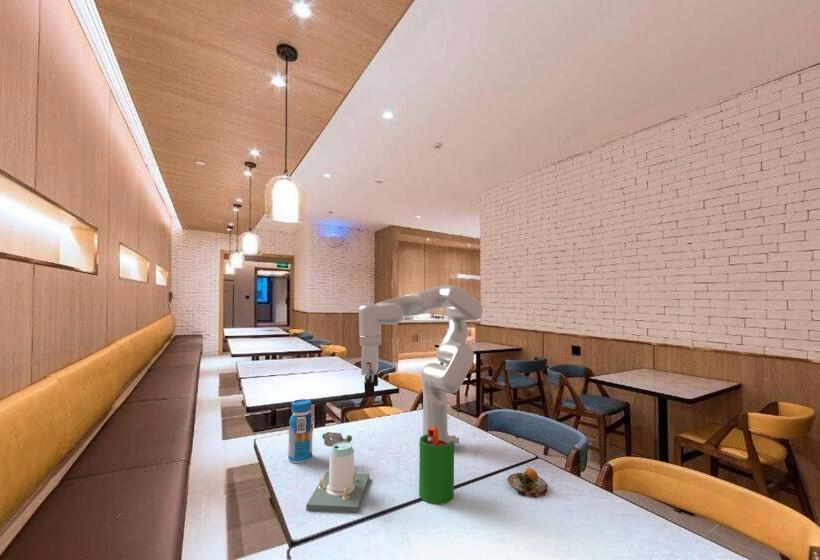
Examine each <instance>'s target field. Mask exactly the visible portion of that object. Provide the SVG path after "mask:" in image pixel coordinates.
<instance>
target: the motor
mask: <svg viewBox="0 0 820 560" xmlns="http://www.w3.org/2000/svg"><path fill="white" fill-rule="evenodd" d="M428 437H431V440H430V441H428ZM419 441H420V447H419V462H418V464H419V469H418V470H419V471H418V472H419V475H418V477H419V478H418V479H419V480H418V484H419V485H418V496H419V499H421V500H422V501H424V502H426V503H428V504H434V505H442V504H447V503H450V502H451V501H453V499H454V497H455V489H454V488H455V484H454V483H455V443H454V441H452V442H450V443H449V444H448V443H447V442H445V441H442V440H439V435H438V429H437V428H435V427H430V428H429V429H428V435H427V434H426V435H423V434H422V436H421V437H420V438H419Z"/></svg>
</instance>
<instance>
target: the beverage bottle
mask: <svg viewBox="0 0 820 560" xmlns="http://www.w3.org/2000/svg"><path fill="white" fill-rule="evenodd" d="M311 410H312V400H310V399H309V398H308V399H307V398H303V399H302V398H299V399H296V400H293V401H292V402H291V412H292V414H291V416H290V417H289V420H288V421H289V422H288V423H289V426H288V430H287V431H288V458H287V459H288V461H289V462H290V463H293V464H301V463H307V462H308V461H310V460H311V459H312V457H313V431H314V425H313V421H314V418H313V416H312V414H311Z"/></svg>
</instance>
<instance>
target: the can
mask: <svg viewBox="0 0 820 560" xmlns="http://www.w3.org/2000/svg"><path fill="white" fill-rule="evenodd" d="M354 461H355V449H354V448H353V445H352V443H351V442H350V443H349V442H338V443H335V444H333V446H332V447H331V449H330V451H329V465H328V466H329V471H328V472H329V488H330V489H332V490H333V491H335V492H344V488H345V487H348V490H349V489H350V488H351V487H352V486H353V475H354V471H355V470H354V469H355V467H354V465H355V464H354V463H355V462H354Z"/></svg>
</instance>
